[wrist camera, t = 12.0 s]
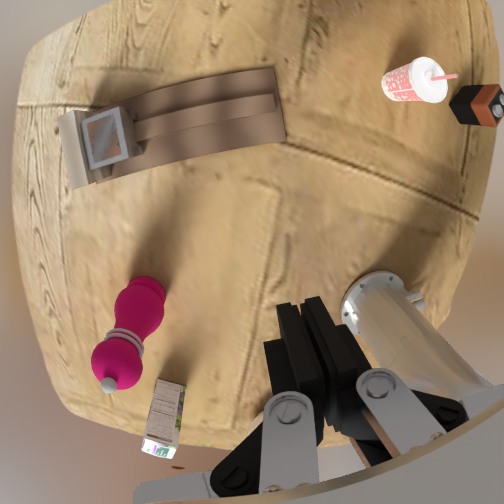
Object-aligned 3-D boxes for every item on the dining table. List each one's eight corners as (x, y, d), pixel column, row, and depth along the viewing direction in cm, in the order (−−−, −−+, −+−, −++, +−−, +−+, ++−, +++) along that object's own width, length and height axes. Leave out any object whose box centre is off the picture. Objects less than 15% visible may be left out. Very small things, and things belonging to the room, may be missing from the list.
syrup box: (179, 401, 52) (173, 460, 39) (152, 394, 51) (140, 452, 37) (186, 385, 50) (179, 447, 37) (156, 377, 49) (143, 438, 36)
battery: (447, 104, 34) (489, 104, 25) (463, 84, 33) (503, 82, 23) (459, 125, 36) (500, 129, 26) (475, 104, 34) (514, 106, 25)
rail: (272, 69, 32) (283, 52, 24) (285, 140, 36) (300, 141, 28) (84, 116, 31) (55, 114, 24) (98, 183, 35) (71, 194, 28)
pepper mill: (119, 274, 41) (64, 363, 22) (164, 271, 41) (127, 368, 23) (130, 313, 43) (91, 409, 25) (172, 312, 44) (148, 414, 25)
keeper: (135, 110, 31) (118, 106, 26) (143, 154, 34) (128, 157, 28) (101, 122, 31) (80, 121, 26) (109, 164, 33) (90, 170, 28)
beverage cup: (416, 95, 34) (480, 90, 21) (391, 112, 35) (455, 110, 22) (396, 61, 32) (456, 44, 19) (369, 77, 33) (428, 59, 20)
